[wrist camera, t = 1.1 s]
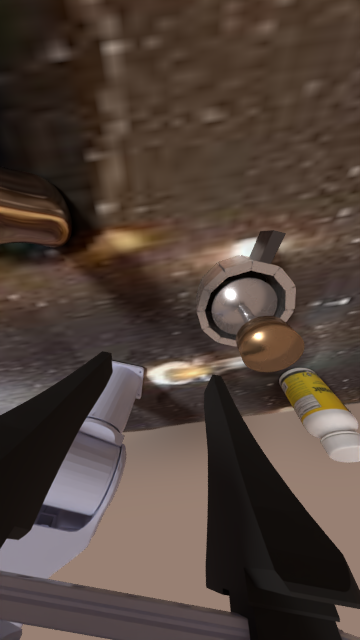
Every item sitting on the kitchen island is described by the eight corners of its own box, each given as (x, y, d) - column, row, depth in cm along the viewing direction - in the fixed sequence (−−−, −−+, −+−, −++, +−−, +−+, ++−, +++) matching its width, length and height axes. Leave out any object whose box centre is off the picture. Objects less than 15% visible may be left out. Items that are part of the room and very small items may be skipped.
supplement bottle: (322, 375, 23) (397, 456, 15) (293, 391, 26) (341, 468, 17) (299, 361, 22) (364, 439, 13) (270, 379, 24) (310, 455, 16)
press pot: (252, 332, 20) (264, 352, 17) (190, 318, 20) (189, 336, 16) (304, 243, 14) (339, 245, 11) (217, 222, 14) (224, 217, 11)
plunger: (256, 337, 17) (289, 391, 11) (204, 325, 16) (209, 374, 11) (288, 285, 13) (358, 322, 8) (223, 270, 13) (245, 296, 7)
